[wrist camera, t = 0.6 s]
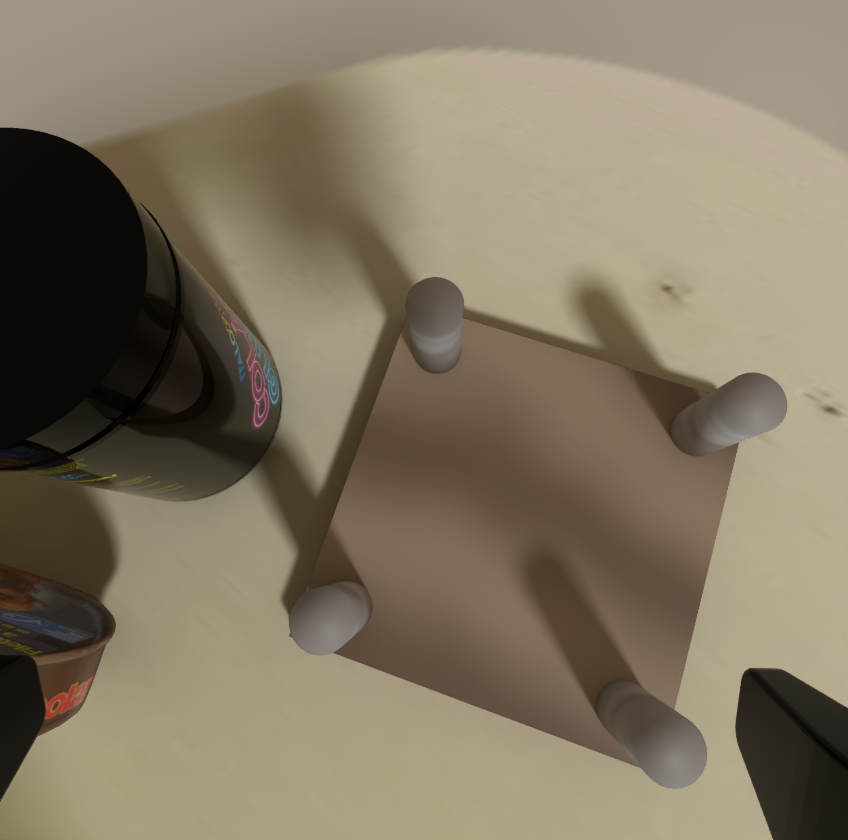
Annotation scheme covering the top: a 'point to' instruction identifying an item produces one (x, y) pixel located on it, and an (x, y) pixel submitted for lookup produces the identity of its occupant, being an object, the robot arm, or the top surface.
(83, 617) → the tin
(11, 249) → the supplement container
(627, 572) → the cradle
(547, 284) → the top surface
